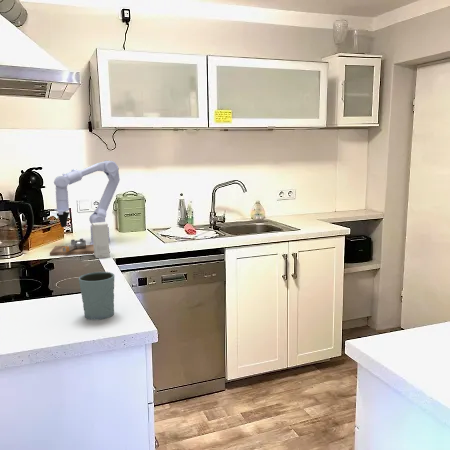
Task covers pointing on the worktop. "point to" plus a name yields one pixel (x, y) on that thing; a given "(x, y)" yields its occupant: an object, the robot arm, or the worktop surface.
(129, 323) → the worktop surface
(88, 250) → the walnut board
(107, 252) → the skincare box
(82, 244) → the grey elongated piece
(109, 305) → the grey-green cup
